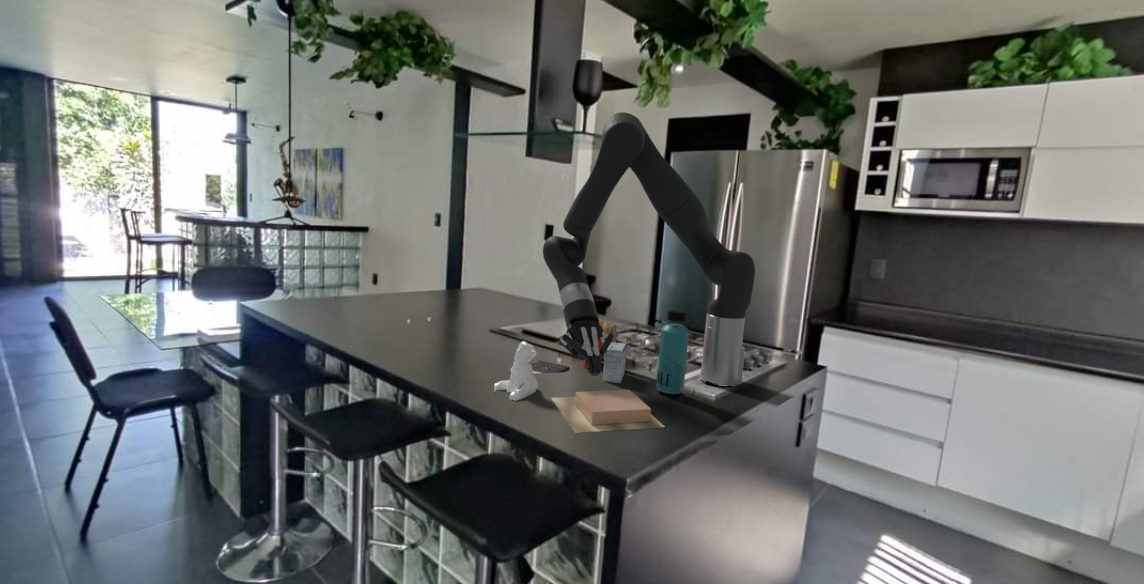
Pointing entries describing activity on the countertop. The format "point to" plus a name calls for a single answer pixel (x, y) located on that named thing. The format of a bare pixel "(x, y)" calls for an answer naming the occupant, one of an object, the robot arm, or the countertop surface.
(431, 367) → the countertop surface
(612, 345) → the medicine box
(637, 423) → the birch board
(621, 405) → the glazed tile
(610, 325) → the tan mottled block
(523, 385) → the sitting furry creature
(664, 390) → the beverage bottle
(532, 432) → the countertop surface
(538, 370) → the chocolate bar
